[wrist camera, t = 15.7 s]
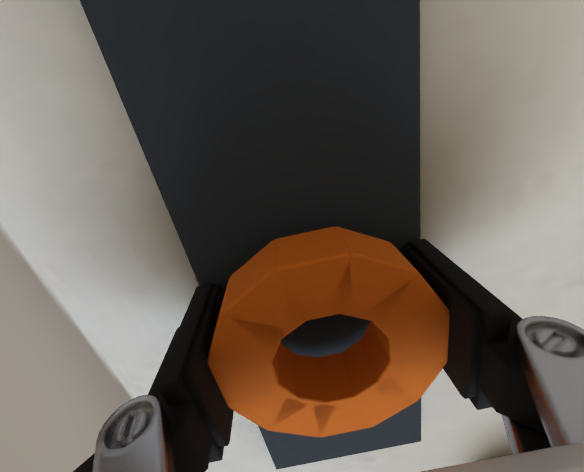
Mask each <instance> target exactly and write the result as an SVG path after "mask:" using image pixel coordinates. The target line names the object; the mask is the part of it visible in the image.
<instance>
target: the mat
mask: <svg viewBox="0 0 584 472" xmlns="http://www.w3.org/2000/svg"><path fill="white" fill-rule="evenodd" d="M80 2H81V4H82V7H83V9H84V11H85V14H86V16H87V19H88V21H89V23H90V26H91V28H92V30H93V33H94V35H95V38H96V40H97V42H98V45H99V47H100V50H101V52H102V54H103V57H104V59H105V61H106V64H107V66H108V69H109V71H110V73H111V76H112V78H113V81H114V83H115V85H116V88H117V90H118V92H119V95H120V97H121V100H122V102H123V104H124V107H125V109H126V111H127V114H128V116H129V119H130V121H131V123H132V126H133V128H134V131H135V133H136V135H137V138H138V140H139V142H140V145H141V147H142V150H143V152H144V154H145V157H146V159H147V162H148V164H149V166H150V169H151V171H152V173H153V176H154V178H155V181H156V183H157V185H158V188H159V190H160V193H161V195H162V197H163V200H164V202H165V204H166V207H167V209H168V212H169V214H170V216H171V219H172V221H173V224H174V226H175V228H176V231H177V233H178V235H179V238H180V240H181V243H182V245H183V247H184V250H185V252H186V254H187V257H188V259H189V262H190V264H191V266H192V269H193V271H194V274H195V276H196V278H197V281H198V283H199V285H200V286H202V285H206V284H211V283H213V284H215V286H220V287H221V289H222V292H223V294H224V295H225V291H226V288H227V284H228V281H229V278H230V277H231V275H232V274H234V273H235V272H236V271H237V270H238V269H239V268H241V267H242V266H243V265H244V264H245V263H246V262H248V261H249V260H250V259H251V258H252V257H253V256H255V255H256V254H257V253H258V252H259V251H260V250H262V249H263V248H264V247H265V246H266V245H268V244H269V243H270V242H271V241H273V240H275V239H278V238H282V237H287V236H292V235H296V234H301V233H306V232H310V231H315V230H319V229H324V228H329V227H335V226H337V227H341V228H344V229H348V230H351V231H355V232H358V233H361V234H365V235H368V236H372V237H375V238H378V239H382V240H385V241H389V242H390V243H391V244H393V245H394V246H395V247H396V248H397V249H398V250H399V252H400V253H401V254H402V248H403V247H406V245H407V243H408V242H410V241H415V240H420V0H80ZM370 322H371V321H370V320H365V319H361V318H356V317H352V316H348V315H343V314H336V315H332V316H327V317H322V318H317V319H312V320H308V321H306V322H304V323H303V324H302V325H300V326H299V327H298V328H296V329H295V330H293V331H292V332H291V333H289V334H288V335H287V336H285V337H284V338H283V339H281V342H280V343H282V344H283V345H284V346H285V347H287V348H288V349H289V350H291V351H292V352H293V353H295V354H300V355H305V356H310V357H316V358H317V357H322V356H327V355H332V354H337V353H341V352H343V351H344V350H346V349H347V348H349V347H350V346H352V345H353V344H355V343H356V342H358V341H359V340H361V338H362V337H363V335H364V333H365V331H366V329H367V328H368V326H369V324H370ZM258 426H259V425H258ZM259 428H260V431H261V433H262V436H263V438H264V440H265V443H266V445H267V448H268V450H269V452H270V455H271V457H272V459H273V462H274V464H275V467H276V469H281V468H286V467H291V466H296V465H301V464H306V463H311V462H317V461H322V460H327V459H332V458H337V457H342V456H347V455H352V454H358V453H363V452H368V451H373V450H378V449H383V448H388V447H394V446H399V445H404V444H409V443H414V442H419V441H421V398H420V399H418V401H417V402H415V403H414V404H412V405H410V406H408V407H407V408H405V409H403V410H401V411H400V412H398V413H396V414H394V415H393V416H391V417H389V418H388V419H386V420H384V421H382V422H381V423H379V424H377V425H375V426H373V427H371V428H366V429H361V430H356V431H351V432H346V433H341V434H336V435H331V436H326V437H312V436H305V435H297V434H289V433H281V432H274V431H269V430H266V429H264V428H262V427H261V426H259Z"/></svg>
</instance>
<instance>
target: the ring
mask: <svg viewBox="0 0 584 472" xmlns="http://www.w3.org/2000/svg"><path fill="white" fill-rule="evenodd" d="M336 314H343V315H348V316H352V317H356V318H361V319H365V320H370V321H371V322H370V324H369V326H368V328H367V329H366V331H365V333H364V335H363V337H362V338H361V340H359V341H358V342H356V343H355V344H353V345H352V346H350V347H349V348H347V349H346V350H344V351H343V352H341V353H337V354H332V355H327V356H322V357H317V358H316V357H310V356H305V355H300V354H295V353H293V352H292V351H291V350H289V349H288V348H287V347H285V346H284V345H283V344H282V343H280V342H281V339H283V338H284V337H285V336H287V335H288V334H289V333H291V332H292V331H293V330H295V329H296V328H298V327H299V326H300V325H302V324H303V323H304V322H306V321H308V320H312V319H317V318H322V317H327V316H332V315H336ZM449 318H450V315H449V310H448V308H447V307H446V305H445V304H444V303H443V302H442V300H441V299H440V298H439V297H438V295H437V294H436V293H435V292H434V291H433V289H432V288H431V287H430V286H429V284H428V283H427V282H426V281H425V279H424V278H423V277H422V276H421V274H420V273H419V272H418V271H417V270H416V269H415V268H414V267H413V265H412V264H411V263H410V262H409V261H408V260H407V259H406V258H405V257H404V256H403V255H402V254H401V253H400V252H399V250H398V249H397V248H396V247H395V246H394V245H393V244H391V243H390V242H389V241H385V240H382V239H378V238H375V237H372V236H368V235H365V234H361V233H358V232H355V231H351V230H348V229H344V228H341V227H337V226H335V227H329V228H324V229H319V230H315V231H310V232H306V233H301V234H296V235H292V236H287V237H282V238H278V239H275V240H273V241H271V242H270V243H269V244H268V245H266V246H265V247H264V248H263V249H262V250H260V251H259V252H258V253H257V254H256V255H255V256H253V257H252V258H251V259H250V260H249V261H248V262H246V263H245V264H244V265H243V266H242V267H241V268H239V269H238V270H237V271H236V272H235V273H234V274H232V275H231V277H230V278H229V281H228V284H227V288H226V291H225V295H224V298H223V302H222V305H221V309H220V312H219V316H218V320H217V323H216V327H215V331H214V335H213V339H212V343H211V347H210V350H209V354H208V358H207V363H208V364H209V367H210V369H211V372H212V374H213V376H214V378H215V380H216V382H217V384H218V386H219V388H220V391H221V393H222V395H223V397H224V399H225V401H226V403H227V405H228V407H229V408H231V409H232V410H234V411H236V412H237V413H239V414H241V415H242V416H244V417H246V418H247V419H249V420H251V421H252V422H254V423H256V424H257V425H259V426H261V427H262V428H264V429H266V430H269V431H274V432H281V433H289V434H297V435H305V436H312V437H326V436H331V435H336V434H341V433H346V432H351V431H356V430H361V429H366V428H371V427H373V426H375V425H377V424H379V423H381V422H382V421H384V420H386V419H388V418H389V417H391V416H393V415H394V414H396V413H398V412H400V411H401V410H403V409H405V408H407V407H408V406H410V405H412V404H414V403H415V402H417V401H418V399H420V398H421V396H422V395H423V394H424V392H425V391H426V390H427V388H428V387H429V386H430V384H431V383H432V382H433V380H434V379H435V378H436V376H437V375H438V374H439V372H440V371H441V370H442V368H443V367H444V366H445V364H446V363H447V356H448V337H449Z"/></svg>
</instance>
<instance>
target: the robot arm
mask: <svg viewBox="0 0 584 472" xmlns="http://www.w3.org/2000/svg"><path fill="white" fill-rule="evenodd" d="M402 255H403V256H404V257H405V258H406V259H407V260H408V261H409V262H410V263H411V264H412V265H413V267H414V268H415V269H416V270H417V271H418V272H419V273H420V274H421V276H422V277H423V278H424V279H425V281H426V282H427V283H428V284H429V286H430V287H431V288H432V289H433V291H434V292H435V293H436V294H437V295H438V297H439V298H440V299H441V300H442V302H443V303H444V304H445V305H446V307H447V308H448V310H449V315H450V318H449V337H448V356H447V363H446V364H445V366H444V367H443V369H444V370H445V372H446V373H447V375H448V376H449V378H450V379H451V381H452V382H453V384H454V385H455V387H456V388H457V390H458V391H459V393H460V394H461V395H462V396H463V397H464V398H465V399H466V398H469V399H470V400H471V402H472V403H473V405H474V406H475V407H476V409H477V410H479V409H484V408H489V407H493V408H494V409H495V411H496V412H498V413H500V414H502V417H503V421H504V425H505V428H506V432H507V435H508V439H509V443H510V446H511V450H512V454H513V455H508V456H503V457H497V458H492V459H487V460H481V461H476V462H471V463H465V464H460V465H454V466H449V467H444V468H438V469H433V470H428V471H423V472H584V330H583V329H582V328H580V327H578V326H576V325H574V324H572V323H569V322H567V321H564V320H560V319H557V318H552V317H546V316H532V317H528V318H524V319H522V318H521V317H519V316H518V315H517V314H516V313H515V312H513V311H512V310H511V309H510V308H509V307H507V306H506V305H505V304H504V303H502V302H501V301H500V300H499V299H498V298H496V297H495V296H494V295H493V294H492V293H490V292H489V291H488V290H487V289H485V288H484V287H483V286H482V285H481V284H479V283H478V282H477V281H476V280H475V279H473V278H472V277H471V276H470V275H468V274H467V273H466V272H465V271H463V270H462V269H461V268H460V267H458V266H457V265H456V264H455V263H454V262H452V261H451V260H450V259H449V258H448V257H446V256H445V255H444V254H443V253H441V252H440V251H439V250H438V249H437V248H435V247H434V246H433V245H432V244H431V243H429V242H428V241H427V240H425V239H420V240H415V241H410V242H408V243H407V245H406V247H403V248H402ZM223 298H224V294H223V292H222V289H221V287H220V286H215V284H213V283H211V284H206V285H202V286H198V287H197V288H196V290H195V293H194V295H193V297H192V300H191V302H190V304H189V307H188V309H187V311H186V314H185V316H184V318H183V321H182V323H181V325H180V327H179V328H178V329H177V330H176V332H175V334H174V337H173V339H172V341H171V344H170V346H169V348H168V350H167V353H166V355H165V357H164V359H163V362H162V364H161V366H160V369H159V371H158V373H157V375H156V378H155V380H154V382H153V385H152V387H151V389H150V391H149V394H148V395H143V396H138V397H136V398H134V399H131V400H129V401H128V402H126V403H125V404H123V405H122V406H120V407H119V408H118V409H117V410H116V411H115V412H114V413H113V414H112V415H111V416H110V417H109V418H108V420H107V421H106V422H105V423H104V425H103V427H102V429H101V430H100V432H99V435H98V438H97V442H96V450H95V453H94V454H93V455H92V456H91V457H90V458H89V459H87V460H86V461H85V462H84V463H83V464H81V465H80V466H79V467H78V468H77V469H76V470H74V471H73V472H205V471H206V470H207V469H208V464H209V462H214V461H219V460H222V456H223V449H224V446H228V444H229V441H230V435H231V427H232V419H233V411H234V410H232V409H231V408H229V407H228V405H227V403H226V401H225V399H224V397H223V395H222V393H221V391H220V388H219V386H218V384H217V382H216V380H215V378H214V376H213V374H212V372H211V369H210V367H209V364H208V363H207V358H208V354H209V350H210V347H211V343H212V339H213V335H214V331H215V327H216V323H217V320H218V316H219V312H220V309H221V305H222V302H223Z"/></svg>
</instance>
